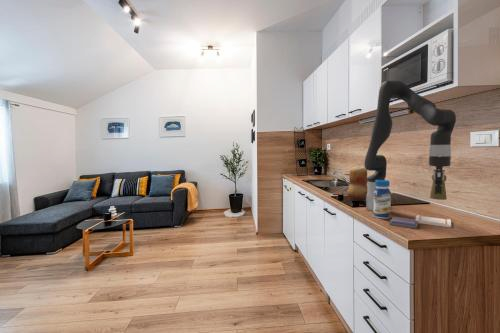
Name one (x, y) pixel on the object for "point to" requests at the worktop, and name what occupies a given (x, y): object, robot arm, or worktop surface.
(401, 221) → the ink pad
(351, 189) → the butternut squash
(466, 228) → the worktop surface
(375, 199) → the beverage bottle
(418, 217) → the marked board
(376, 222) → the worktop surface
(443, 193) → the olive rounded piece
